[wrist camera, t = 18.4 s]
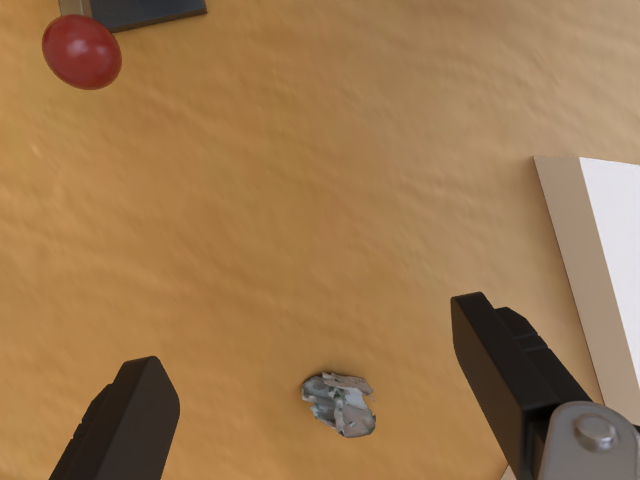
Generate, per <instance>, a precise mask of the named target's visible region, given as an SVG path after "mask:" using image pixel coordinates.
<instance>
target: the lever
mask: <svg viewBox="0 0 640 480" xmlns="http://www.w3.org/2000/svg"><path fill="white" fill-rule="evenodd" d="M59 6H60V12H61V16H60V17H58V18H56V19H55V20H53V21H52V22H51V23H50V24H49V25H48V26H47V28H46V29H45V31H44V34H43V38H42V51H43V55H44V58H45V61H46V62H47V64H48V66H49V68H50V69H51V70H52V71H53V73H54V74H55V75H56V76H57V77H58V78H59V79H61V80H62V81H63V82H65V83H67V84H68V85H70V86H73V87H75V88H79V89H83V90H98V89H101V88H104V87H106V86H108V85H110V84H111V83H112V82H113V81H114V80H115V79H116V78H117V76H118V74H119V72H120V69H121V65H122V56H121V51H120V47H119V45H118V43H117V41H116V39H115V37H114V36H113V35H112V33H111V32H110V31H109V30H108V29H107V28H106V27H105V26H104V25H102V24H101V23H100V22H98V21H96V20H94V19H93V18H92V12H91V6H90V1H89V0H59Z"/></svg>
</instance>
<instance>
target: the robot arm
mask: <svg viewBox="0 0 640 480" xmlns="http://www.w3.org/2000/svg"><path fill="white" fill-rule="evenodd" d="M451 318H452V332H453V344H454V349H455V353H456V356H457V359H458V362H459V364H460V367H461V369H462V371H463V373H464V375H465V377H466V379H467V381H468V383H469V385H470V387H471V389H472V391H473V393H474V395H475V397H476V399H477V401H478V403H479V405H480V407H481V409H482V411H483V413H484V415H485V417H486V419H487V421H488V423H489V425H490V427H491V429H492V431H493V433H494V435H495V437H496V439H497V441H498V443H499V445H500V447H501V449H502V451H503V453H504V455H505V457H506V459H507V461H508V463H509V465H510V467H511V470H512V472H513V474H514V476H515V478H516V480H640V426H638V425H634V424H631V423H630V422H629V421H628V420H627V419H626V418H625V417H623V416H622V415H621V414H619V413H618V412H616V411H614V410H613V409H610V408H608V407H606V406H604V405H601V404H598V403H594V402H593V401H592V400H591V399H590V398H589V396H588V395H587V394H586V393H585V391H584V390H583V389H582V388H581V386H580V385H579V384H578V383H577V381H576V380H575V379H574V378H573V376H572V375H571V374H570V373H569V372H568V370H567V369H566V368H565V367H564V365H563V364H562V363H561V362H560V360H559V359H558V358H557V357H556V355H555V354H554V353H553V352H552V350H551V349H548V346H547V344H546V343H545V342H544V341H543V339H542V338H541V337H540V336H538V334H537V332H536V331H535V329H534V328H533V327H532V326H531V324H530V323H529V322H528V321H527V319H526V318H525V317H523V316H521V315H520V314H518V313H516V312H515V311H513V310H511V309H510V308H508V307H503V308H498V309H494V308H493V307H492V305H491V304H490V302H489V301H488V300H487V298H486V297H485V295H484V294H483V293H482V292H475V293H470V294H465V295H460V296H455V297H451ZM179 415H180V403H179V398H178V395H177V393H176V391H175V389H174V387H173V385H172V383H171V381H170V379H169V377H168V375H167V373H166V371H165V369H164V368H163V366H162V364H161V362H160V360H159V359H158V358H157V357H156V356H150V357H145V358H140V359H135V360H130V361H126V362H124V363H123V365H122V366H121V368H120V370H119V372H118V374H117V376H116V378H115V380H114V382H113V383H112V384H108V385H107V386H106V387H105V388H104V389H103V390H102V391H101V392H100V393H99V394H98V395H97V397H96V398H95V399H94V400H93V401H92V402H91V404H90V406H89V407H88V409H87V411H86V413H85V415H84V416H83V418H82V423H81V424H79V425H78V427H77V429H76V431H75V433H74V435H73V439H71V440H70V442H69V444H68V445H67V447H66V449H65V451H64V453H63V454H62V456H61V458H60V460H59V462H58V464H57V465H56V467H55V469H54V471H53V473H52V474H51V476H50V478H49V480H160V479H161V476H162V473H163V469H164V466H165V463H166V459H167V456H168V453H169V449H170V446H171V443H172V439H173V436H174V433H175V429H176V426H177V423H178V419H179Z"/></svg>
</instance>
